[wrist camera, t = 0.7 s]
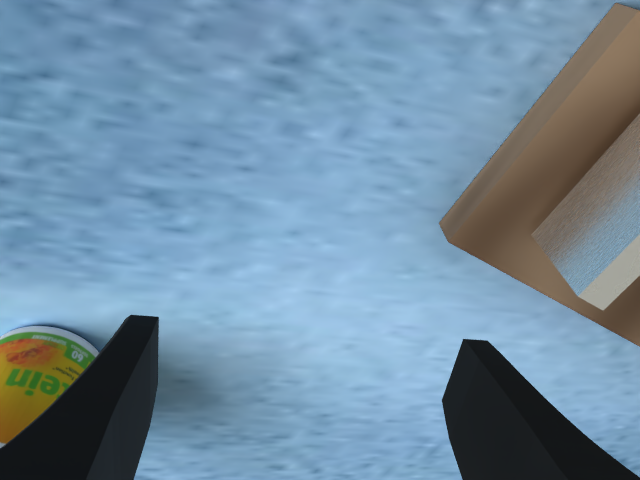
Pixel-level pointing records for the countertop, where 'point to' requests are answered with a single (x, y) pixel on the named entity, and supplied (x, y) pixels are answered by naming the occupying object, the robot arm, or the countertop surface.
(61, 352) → the supplement bottle
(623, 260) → the gauge plunger
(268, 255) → the countertop surface
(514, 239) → the brown piece
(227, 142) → the countertop surface
